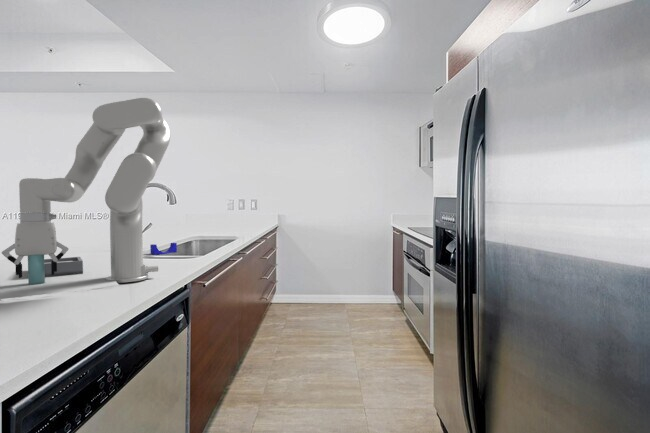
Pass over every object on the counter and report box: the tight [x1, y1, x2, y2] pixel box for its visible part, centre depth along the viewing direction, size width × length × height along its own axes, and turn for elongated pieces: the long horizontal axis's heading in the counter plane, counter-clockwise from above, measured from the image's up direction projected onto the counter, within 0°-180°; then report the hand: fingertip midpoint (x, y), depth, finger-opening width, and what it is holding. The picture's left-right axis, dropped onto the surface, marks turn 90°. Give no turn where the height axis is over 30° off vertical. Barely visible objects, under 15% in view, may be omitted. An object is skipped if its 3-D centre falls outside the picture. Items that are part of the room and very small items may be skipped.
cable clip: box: [150, 242, 178, 256], centre depth 184 cm, size 12×4×6 cm, turn 142°
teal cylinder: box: [27, 254, 46, 285], centre depth 115 cm, size 4×4×9 cm
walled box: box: [44, 256, 84, 278], centre depth 134 cm, size 15×16×4 cm
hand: (37, 275), depth 115 cm, fingers open, 7 cm apart
